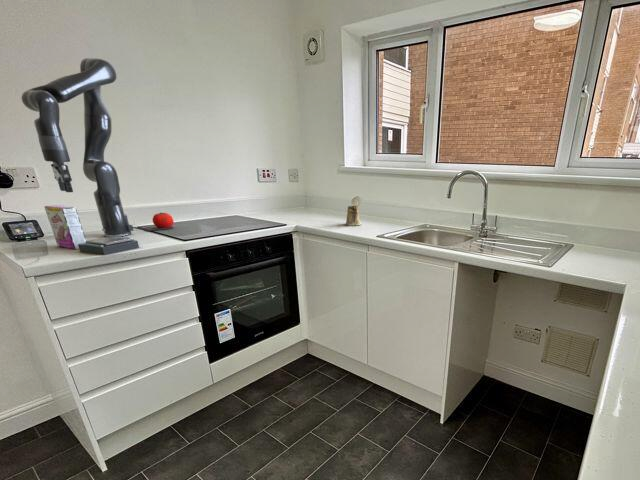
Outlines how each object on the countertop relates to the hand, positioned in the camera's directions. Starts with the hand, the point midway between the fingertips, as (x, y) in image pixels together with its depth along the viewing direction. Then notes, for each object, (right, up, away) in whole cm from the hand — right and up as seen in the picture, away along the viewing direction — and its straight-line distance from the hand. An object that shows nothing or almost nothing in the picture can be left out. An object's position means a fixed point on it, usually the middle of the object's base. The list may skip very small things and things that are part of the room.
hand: (66, 191), depth 143 cm
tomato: (+11, -6, +44) cm, 46 cm away
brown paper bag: (+109, +1, +73) cm, 131 cm away
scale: (+19, -24, -1) cm, 31 cm away
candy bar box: (+2, -23, +1) cm, 23 cm away
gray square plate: (+19, -21, -2) cm, 28 cm away
